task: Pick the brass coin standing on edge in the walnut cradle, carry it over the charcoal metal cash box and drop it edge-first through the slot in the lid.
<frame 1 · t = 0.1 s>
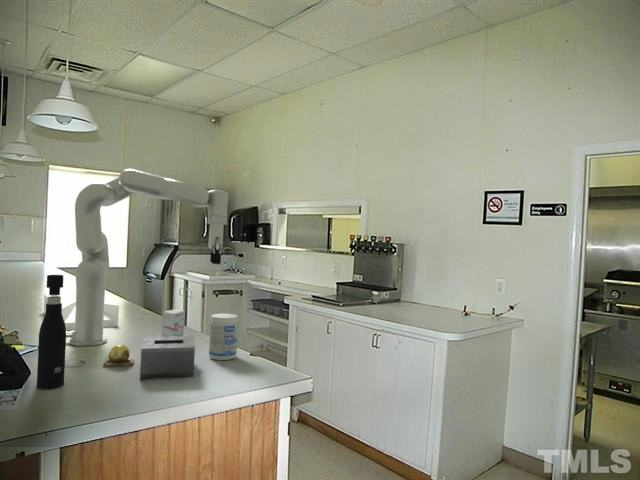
hand: (215, 262, 180), 31 cm above the counter, fingers open, 9 cm apart
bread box: (78, 320, 207), on the counter
supplement tub: (222, 357, 157), on the counter
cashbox: (167, 370, 139), on the counter
black water bottle: (50, 386, 121), on the counter
cradle: (118, 364, 143), on the counter
ink box: (172, 341, 176), on the counter
coin: (119, 354, 143), in the cradle
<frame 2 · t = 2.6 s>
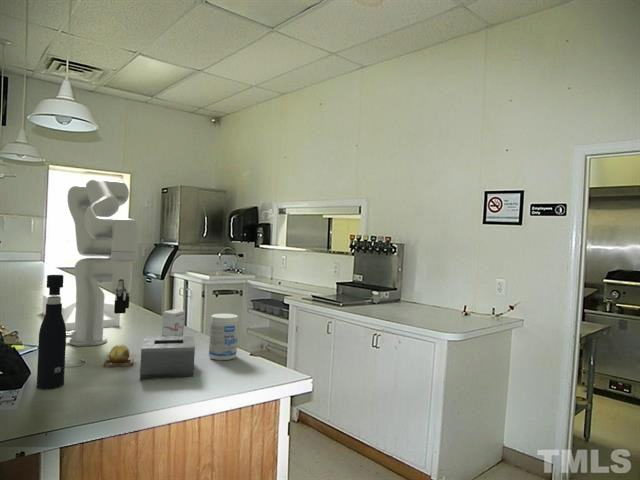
hand: (121, 310, 142), 17 cm above the counter, fingers open, 9 cm apart
nothing on the counter moved.
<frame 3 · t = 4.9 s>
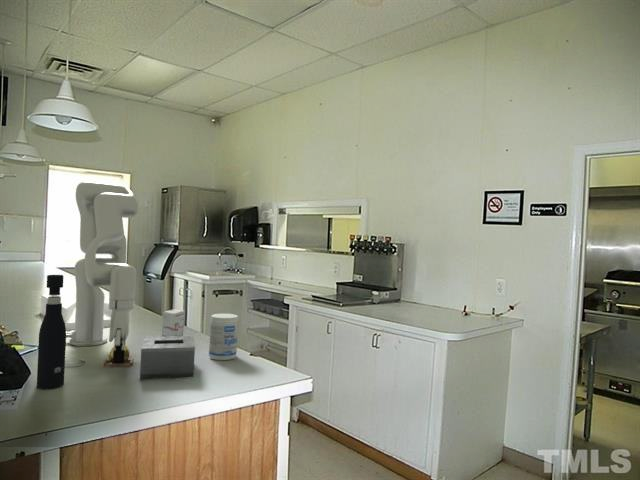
hand: (119, 361, 143), 1 cm above the counter, fingers closed on coin, 2 cm apart
coin: (119, 354, 143), in the cradle, touching gripper
everything else where it was.
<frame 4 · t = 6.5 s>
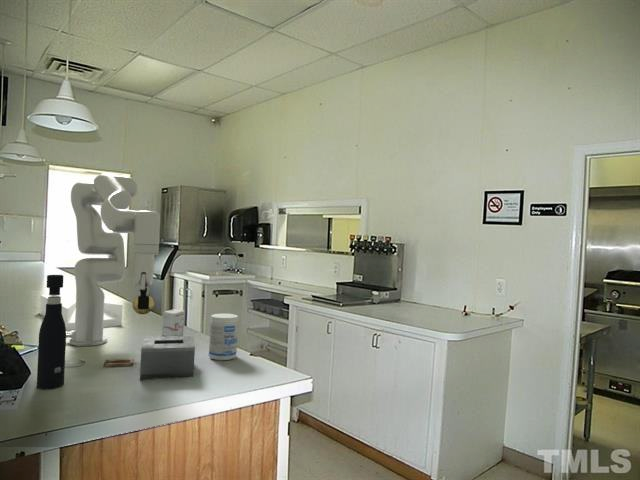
hand: (143, 307, 140), 19 cm above the counter, fingers closed on coin, 2 cm apart
coin: (143, 304, 140), point 20 cm above the counter, tilted 43°, touching gripper
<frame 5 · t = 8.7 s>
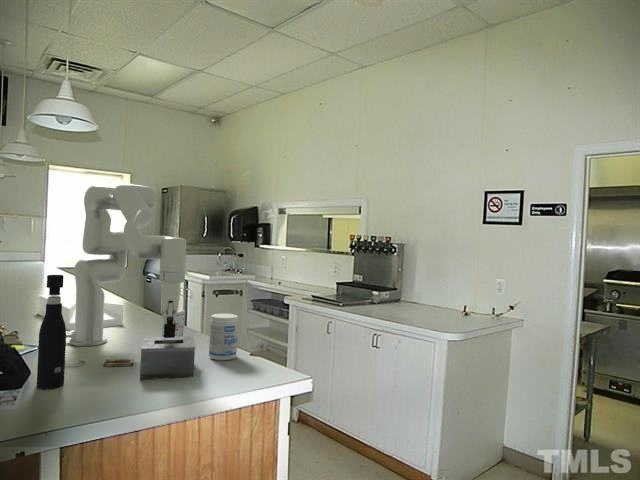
hand: (169, 334, 139), 11 cm above the counter, fingers open, 4 cm apart
coin: (168, 356, 137), in the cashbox, point 5 cm above the counter, tilted 102°
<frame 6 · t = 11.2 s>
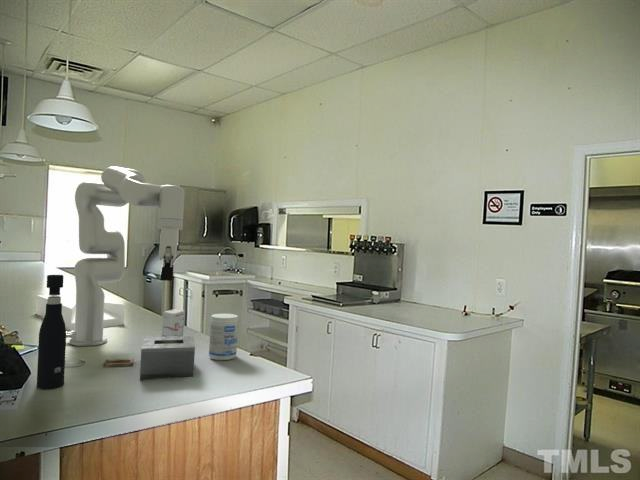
hand: (167, 278, 141), 28 cm above the counter, fingers open, 9 cm apart
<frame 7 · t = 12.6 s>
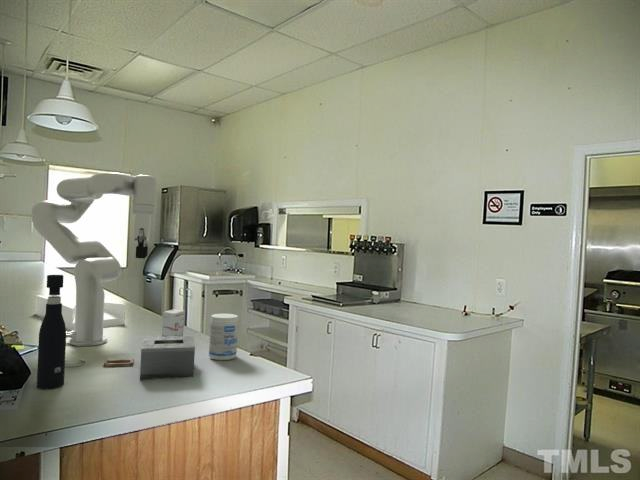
hand: (141, 257, 161), 33 cm above the counter, fingers open, 9 cm apart
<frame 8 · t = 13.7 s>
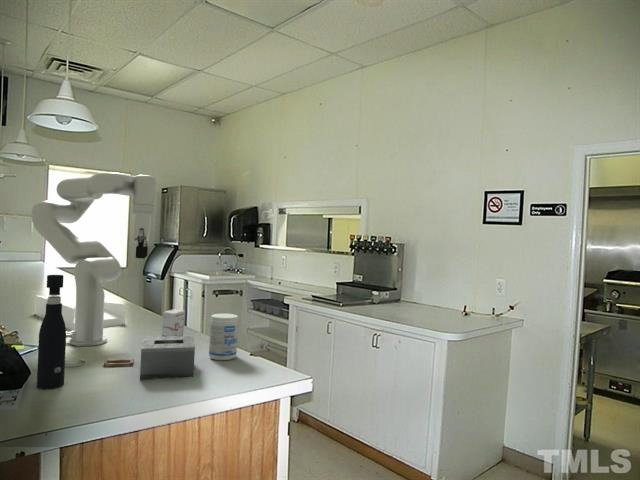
hand: (141, 257, 161), 33 cm above the counter, fingers open, 9 cm apart
at the end: coin inside the target area on the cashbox (3.8 cm from its centre), point 4.8 cm above the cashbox's base; the gripper is holding nothing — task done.
